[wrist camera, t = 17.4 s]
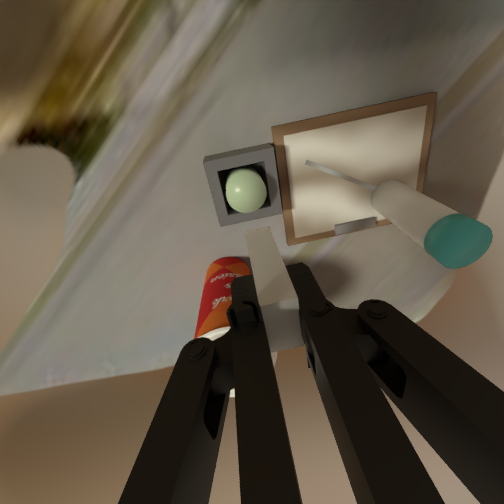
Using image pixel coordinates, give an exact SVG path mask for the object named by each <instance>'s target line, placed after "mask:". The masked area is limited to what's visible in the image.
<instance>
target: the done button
mask: <svg viewBox="0 0 504 504" xmlns="http://www.w3.org/2000/svg"><path fill="white" fill-rule="evenodd" d="M266 194H267V191H266V186H265V184H264V182H263V180H262V178H261V177H260V175H259V173H258V172H257V171H256V170H255V169H254V168H253V167H250V166H247V165H244V166H239V167H235V168H233V169H232V170H231V171H230V172H229V173H228V175H227V178H226V197H227V201H228V203H229V204H230V206H231V207H232V208H233V209H235V210H236V211H238V212H242V213H250V212H254V211H256V210H257V209H259V208H260V207H261V206H262V205H263V203H264V201H265V199H266Z"/></svg>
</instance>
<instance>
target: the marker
mask: <svg viewBox="0 0 504 504" xmlns="http://www.w3.org/2000/svg"><path fill="white" fill-rule="evenodd" d="M371 205H372V207H373V208H374V209H375V210H376V211H377V212H379V213H380V214H381V215H382V216H384V217H385V218H386V219H387V220H389V221H390V222H391V223H392V224H394V225H395V226H396V227H397V228H399V229H400V230H401V231H402V232H404V233H405V234H406V235H408V236H409V237H410V238H411V239H413V240H414V241H415V242H416V243H418V244H419V245H420V246H421V247H423V248H424V249H425V250H426V252H427V253H428V254H430V255H431V256H432V257H433V258H435V259H436V260H437V261H438V262H440V263H441V264H442V265H443V266H445V267H447V268H452V269H456V268H462V267H465V266H467V265H469V264H471V263H473V262H475V261H476V260H478V259H479V258H480V257H481V256H482V255H483V254H484V253H485V252H486V251H487V249H488V248H489V246H490V244H491V242H492V231H491V229H490V228H489V227H488V226H486V225H484V224H483V223H481V222H479V221H477V220H475V219H473V218H471V217H469V216H467V215H465V214H461V213H458V212H457V211H455V210H453V209H451V208H449V207H447V206H445V205H443V204H441V203H439V202H437V201H435V200H434V199H432V198H430V197H428V196H426V195H424V194H422V193H420V192H418V191H416V190H414V189H413V188H411V187H409V186H407V185H405V184H403V183H401V182H399V181H397V180H388V181H385V182H383V183H381V184H380V185H379V186H378V187H377V188H376V189H375V190H374V192H373V194H372V197H371Z"/></svg>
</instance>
